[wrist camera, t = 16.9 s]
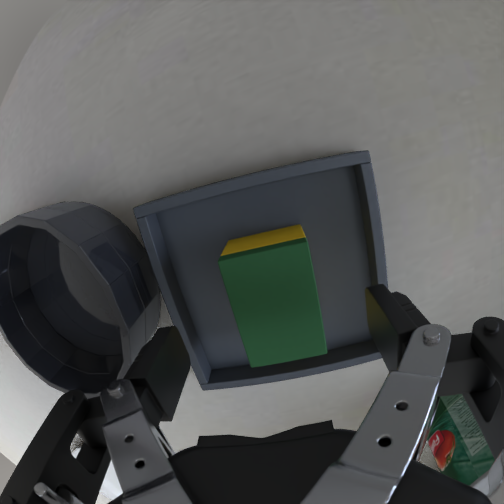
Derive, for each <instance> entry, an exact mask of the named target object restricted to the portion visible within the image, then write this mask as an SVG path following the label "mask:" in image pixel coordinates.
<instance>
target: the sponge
mask: <svg viewBox="0 0 504 504" xmlns="http://www.w3.org/2000/svg"><path fill="white" fill-rule="evenodd" d="M218 265H219V269H220V272H221V275H222V279H223V282H224V285H225V288H226V292H227V295H228V298H229V301H230V305H231V308H232V311H233V314H234V317H235V320H236V323H237V327H238V330H239V333H240V336H241V339H242V342H243V345H244V348H245V351H246V354H247V357H248V360H249V363H250V366H251V367H252V368H253V367H259V366H266V365H272V364H277V363H283V362H288V361H294V360H299V359H304V358H309V357H314V356H318V355H323V354H327V345H326V339H325V333H324V326H323V320H322V314H321V308H320V303H319V297H318V291H317V286H316V280H315V275H314V270H313V264H312V259H311V254H310V249H309V244H308V241H307V239H306V236H305V234H304V232H303V230H302V227H301V225H300V224H299V225H294V226H290V227H285V228H281V229H276V230H272V231H268V232H263V233H259V234H254V235H250V236H246V237H241V238H237V239H233V240H229V241H228V242H227V244H226V246H225V248H224V250H223V252H222V254H221V256H220V258H219V260H218Z"/></svg>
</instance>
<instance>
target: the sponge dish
mask: <svg viewBox="0 0 504 504" xmlns="http://www.w3.org/2000/svg"><path fill="white" fill-rule="evenodd" d="M370 162H371V159H370V154H369V151H368V150H367V151H356V152H350V153H344V154H339V155H333V156H328V157H323V158H318V159H313V160H308V161H303V162H299V163H294V164H289V165H285V166H280V167H276V168H272V169H267V170H263V171H259V172H255V173H251V174H246V175H242V176H239V177H235V178H231V179H227V180H223V181H219V182H216V183H212V184H208V185H205V186H201V187H197V188H194V189H190V190H187V191H184V192H180V193H177V194H173V195H170V196H167V197H163V198H160V199H157V200H154V201H151V202H147V203H145V204H142V205H140V206H137V207H135V208H133V210H134V214H135V217H136V219H137V223H138V227H139V230H140V233H141V236H142V239H143V242H144V245H145V248H146V251H147V254H148V257H149V260H150V263H151V266H152V269H153V272H154V274H155V277H156V280H157V283H158V285H159V288H160V291H161V294H162V296H163V299H164V301H165V304H166V307H167V309H168V312H169V314H170V317H171V319H172V322H173V324H174V326H176V327H177V328H178V330H179V332H180V335H181V337H182V339H183V342H184V344H185V346H186V349H187V351H188V353H189V356H190V362H191V366H192V368H193V371H194V373H195V375H196V377H197V379H198V381H199V384H200V386H201V388H202V390H214V389H224V388H233V387H241V386H249V385H257V384H263V383H270V382H276V381H282V380H288V379H294V378H299V377H305V376H310V375H315V374H319V373H324V372H329V371H333V370H338V369H342V368H346V367H350V366H354V365H358V364H362V363H366V362H370V361H373V360H377V359H380V358H382V356H381V354H380V352H379V350H378V348H377V346H376V344H375V342H374V340H373V338H372V336H371V334H370V331H369V328H368V322H367V311H366V299H365V288H366V287H370V286H374V285H378V284H382V283H383V284H384V285H385V286H386V288H387V289H388V282H387V270H386V258H385V249H384V240H383V232H382V224H381V217H380V210H379V203H378V197H377V191H376V185H375V180H374V174H373V169H372V164H371V163H370ZM299 224H300V225H301V227H302V230H303V232H304V234H305V236H306V239H307V241H308V244H309V249H310V254H311V259H312V264H313V270H314V275H315V280H316V286H317V291H318V297H319V303H320V308H321V314H322V320H323V326H324V333H325V339H326V345H327V354H323V355H318V356H314V357H309V358H304V359H299V360H294V361H288V362H283V363H277V364H272V365H266V366H259V367H253V368H252V367H251V366H250V363H249V360H248V357H247V354H246V351H245V348H244V345H243V342H242V339H241V336H240V333H239V330H238V327H237V323H236V320H235V317H234V314H233V311H232V308H231V305H230V301H229V298H228V295H227V292H226V288H225V285H224V282H223V279H222V275H221V272H220V269H219V265H218V260H219V258H220V256H221V254H222V252H223V250H224V248H225V246H226V244H227V242H228V241H229V240H233V239H237V238H241V237H246V236H250V235H254V234H259V233H263V232H268V231H272V230H276V229H281V228H285V227H290V226H294V225H299Z"/></svg>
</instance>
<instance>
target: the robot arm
mask: <svg viewBox="0 0 504 504" xmlns="http://www.w3.org/2000/svg"><path fill="white" fill-rule="evenodd" d="M365 299H366V311H367V322H368V328H369V331H370V334H371V336H372V338H373V340H374V342H375V344H376V346H377V348H378V350H379V352H380V354H381V356H382V358H383V360H384V362H385V364H386V366H387V368H388V370H389V374H388V376H387V378H386V380H385V382H384V384H383V386H382V388H381V389H380V391H379V393H378V395H377V397H376V399H375V401H374V403H373V404H372V406H371V408H370V410H369V412H368V413H367V415H366V417H365V419H364V420H363V422H362V424H361V425H360V427H359V429H358V430H357V431H353V430H346V429H334V428H333V423H332V420H329V421H325V422H320V423H314V424H309V425H304V426H298V427H295V428H292V429H290V430H287V431H284V432H281V433H278V434H275V435H272V436H269V437H265V438H254V437H245V436H237V435H214V436H199V439H198V443H197V445H196V446H193V447H189V448H186V449H184V450H182V451H180V452H178V453H176V454H175V452H174V450H173V449H172V447H171V445H170V444H169V442H168V440H167V438H166V437H165V435H164V433H163V431H162V430H161V428H160V427H159V423H160V421H172V419H173V416H174V413H175V410H176V407H177V404H178V401H179V398H180V395H181V393H182V390H183V387H184V384H185V381H186V378H187V375H188V373H189V370H190V366H191V362H190V356H189V353H188V351H187V349H186V346H185V344H184V342H183V339H182V337H181V335H180V332H179V330H178V328H177V327H176V326H170V327H163V328H159V329H158V330H157V331H156V333H155V335H154V336H153V338H152V340H150V341H149V342H147V343H146V344H145V345H144V346H143V347H142V348H141V350H140V352H139V353H138V356H137V357H136V358H135V360H134V362H133V363H132V365H131V366H130V368H129V370H128V371H127V373H126V375H125V376H124V378H123V379H117V380H114V381H112V382H110V383H109V384H107V385H106V386H105V387H104V388H103V389H102V391H101V393H100V396H98V397H93V398H89V399H87V397H86V396H85V395H84V393H83V392H82V391H81V390H77V389H76V390H71V391H68V392H67V393H65V394H63V395H62V396H61V397H60V398H59V400H58V401H57V403H56V404H55V406H54V407H53V409H52V410H51V412H50V413H49V415H48V416H47V418H46V419H45V421H44V422H43V424H42V426H41V427H40V429H39V430H38V432H37V433H36V435H35V437H34V438H33V440H32V442H31V443H30V445H29V446H28V448H27V450H26V451H25V453H24V455H23V456H22V458H21V460H20V462H19V463H18V465H17V467H16V468H15V470H14V472H13V474H12V476H11V477H10V479H9V481H8V483H7V485H6V487H5V488H4V490H3V492H2V494H1V496H0V504H95V503H96V500H97V497H98V494H99V491H100V489H101V486H102V483H103V480H104V478H105V475H106V472H107V470H108V467H109V465H110V462H111V460H112V463H113V466H114V469H115V472H116V475H117V478H118V480H119V483H120V486H121V489H122V491H123V493H122V494H121V495H119V496H118V497H117V498H115V499H114V500H112V501H111V502H109V503H108V504H504V321H503V320H502V319H499V318H496V317H484V318H481V319H479V320H477V321H476V322H475V323H474V325H473V329H472V333H465V334H458V335H451V333H450V331H449V330H448V329H447V328H446V327H444V326H441V325H437V324H430V323H429V321H428V320H427V319H426V318H425V317H424V316H423V314H422V313H421V312H420V311H419V310H418V309H417V308H416V306H415V305H414V304H413V303H412V302H411V301H410V299H409V298H408V297H407V296H406V295H403V294H401V293H399V292H394V293H391V292H390V291H389V290H388V289H387V288H386V286H385V285H384V284H383V283H382V284H378V285H374V286H370V287H366V288H365ZM457 394H462V395H463V397H464V399H465V401H466V403H467V404H468V406H469V408H470V410H471V412H472V414H473V416H474V418H475V420H476V422H477V424H478V426H479V428H480V430H481V432H482V434H483V436H484V438H485V440H486V442H487V444H488V446H489V448H490V451H491V453H492V455H493V457H494V459H495V461H494V463H493V464H492V466H491V467H490V470H489V473H488V482H489V493H488V496H486V495H485V494H484V493H482V492H481V491H479V490H478V489H476V488H473V487H471V486H469V485H466V484H464V483H462V482H459V481H457V480H455V479H453V478H451V477H448V476H446V475H444V474H442V473H440V472H438V471H436V470H434V469H432V468H430V467H428V466H426V465H424V464H422V463H420V462H418V461H419V458H420V456H421V453H422V450H423V448H424V445H425V442H426V439H427V436H428V434H429V431H430V428H431V425H432V422H433V420H434V417H435V414H436V411H437V407H438V404H439V401H440V398H441V396H450V395H457ZM76 433H77V434H78V435H79V436H80V437H81V438H82V440H83V441H84V443H83V445H82V447H81V449H80V451H79V453H78V455H77V457H76V459H75V458H74V456H73V455H72V453H71V450H70V445H71V442H72V441H73V439H74V437H75V435H76Z"/></svg>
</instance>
